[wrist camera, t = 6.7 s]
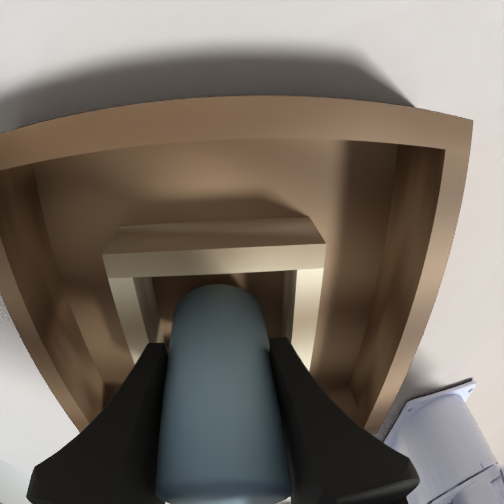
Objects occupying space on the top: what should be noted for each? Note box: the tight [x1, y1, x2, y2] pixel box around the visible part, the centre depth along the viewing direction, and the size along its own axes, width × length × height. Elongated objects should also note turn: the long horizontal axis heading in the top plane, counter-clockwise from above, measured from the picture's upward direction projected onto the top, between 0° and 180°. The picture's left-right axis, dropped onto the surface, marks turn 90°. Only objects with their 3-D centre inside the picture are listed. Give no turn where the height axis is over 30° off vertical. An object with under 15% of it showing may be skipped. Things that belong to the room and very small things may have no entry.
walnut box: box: [0, 95, 473, 434], centre depth 14 cm, size 18×18×4 cm
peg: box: [155, 284, 293, 504], centre depth 11 cm, size 4×4×8 cm
